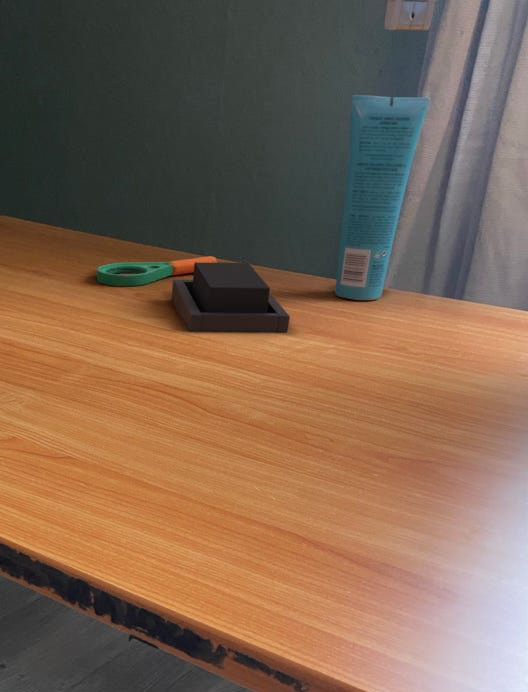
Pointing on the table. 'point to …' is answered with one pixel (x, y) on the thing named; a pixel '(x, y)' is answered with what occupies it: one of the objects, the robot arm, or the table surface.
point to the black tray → (227, 315)
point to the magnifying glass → (146, 271)
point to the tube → (375, 188)
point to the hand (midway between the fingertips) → (406, 30)
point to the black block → (229, 288)
